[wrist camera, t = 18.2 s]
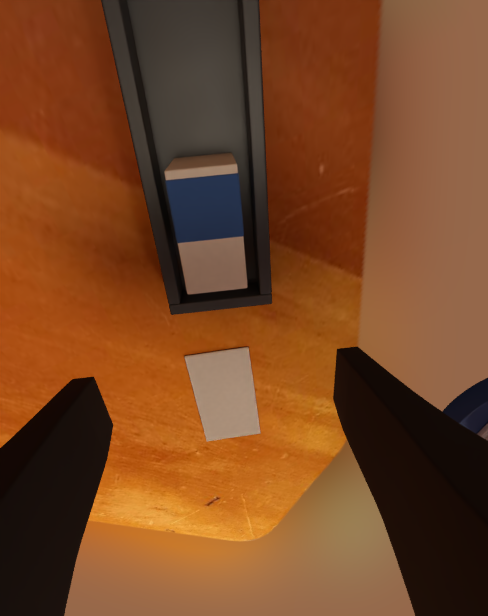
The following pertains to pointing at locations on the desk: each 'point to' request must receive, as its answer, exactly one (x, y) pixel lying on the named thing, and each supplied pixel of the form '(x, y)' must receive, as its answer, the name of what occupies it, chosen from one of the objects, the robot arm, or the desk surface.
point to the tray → (196, 120)
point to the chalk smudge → (224, 392)
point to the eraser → (208, 221)
